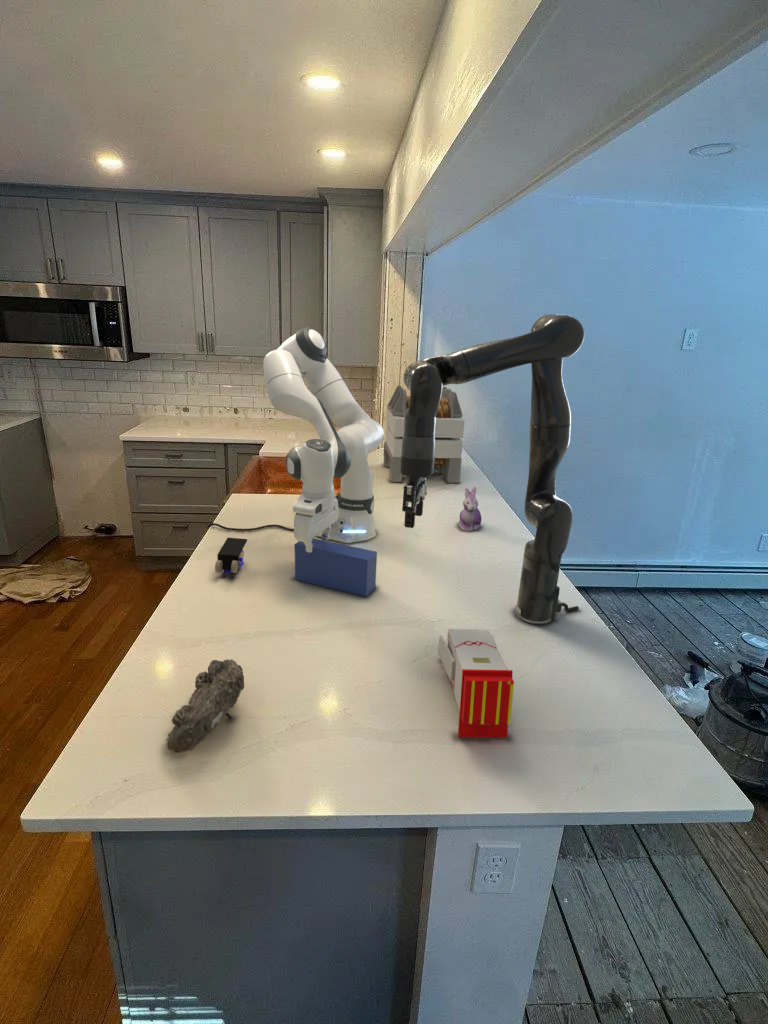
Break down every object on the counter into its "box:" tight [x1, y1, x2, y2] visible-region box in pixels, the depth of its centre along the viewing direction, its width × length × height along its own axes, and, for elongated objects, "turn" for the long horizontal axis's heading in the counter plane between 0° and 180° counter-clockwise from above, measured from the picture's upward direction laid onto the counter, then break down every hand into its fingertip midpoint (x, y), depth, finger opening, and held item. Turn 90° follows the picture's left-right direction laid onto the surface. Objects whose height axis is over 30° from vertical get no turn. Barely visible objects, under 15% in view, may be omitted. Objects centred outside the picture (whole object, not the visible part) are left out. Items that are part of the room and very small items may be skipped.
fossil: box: [166, 658, 245, 754], centre depth 106 cm, size 22×10×15 cm
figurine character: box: [214, 537, 248, 578], centre depth 166 cm, size 7×8×15 cm
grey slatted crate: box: [383, 384, 465, 484], centre depth 268 cm, size 34×33×41 cm
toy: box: [437, 628, 515, 738], centre depth 117 cm, size 12×13×30 cm
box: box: [294, 537, 378, 597], centre depth 160 cm, size 23×6×11 cm, turn 67°
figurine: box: [458, 486, 482, 532], centre depth 206 cm, size 9×10×15 cm
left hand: (317, 545), depth 161 cm, fingers open, 8 cm apart
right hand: (413, 521), depth 133 cm, fingers open, 8 cm apart
